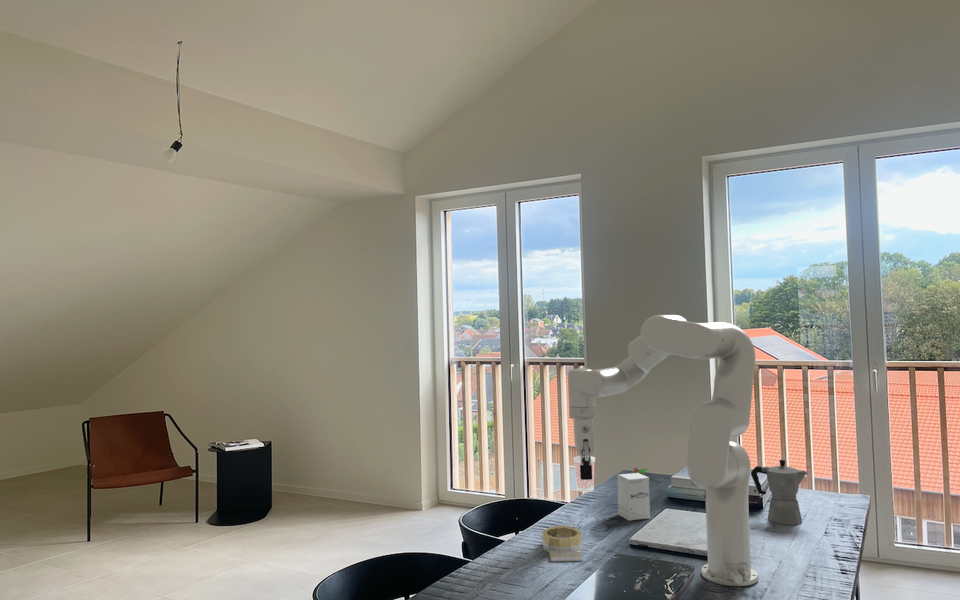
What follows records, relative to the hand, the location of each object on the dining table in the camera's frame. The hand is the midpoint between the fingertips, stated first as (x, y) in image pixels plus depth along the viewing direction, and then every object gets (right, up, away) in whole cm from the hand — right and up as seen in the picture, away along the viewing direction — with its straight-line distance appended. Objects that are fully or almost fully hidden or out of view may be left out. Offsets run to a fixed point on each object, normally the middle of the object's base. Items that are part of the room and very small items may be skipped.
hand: (584, 475), depth 186 cm
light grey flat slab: (-7, -17, -10) cm, 21 cm away
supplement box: (+18, -18, +18) cm, 31 cm away
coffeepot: (+60, -16, +10) cm, 63 cm away
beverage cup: (0, -4, 0) cm, 4 cm away
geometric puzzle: (+29, -18, +54) cm, 64 cm away
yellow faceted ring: (-7, -17, -5) cm, 20 cm away
